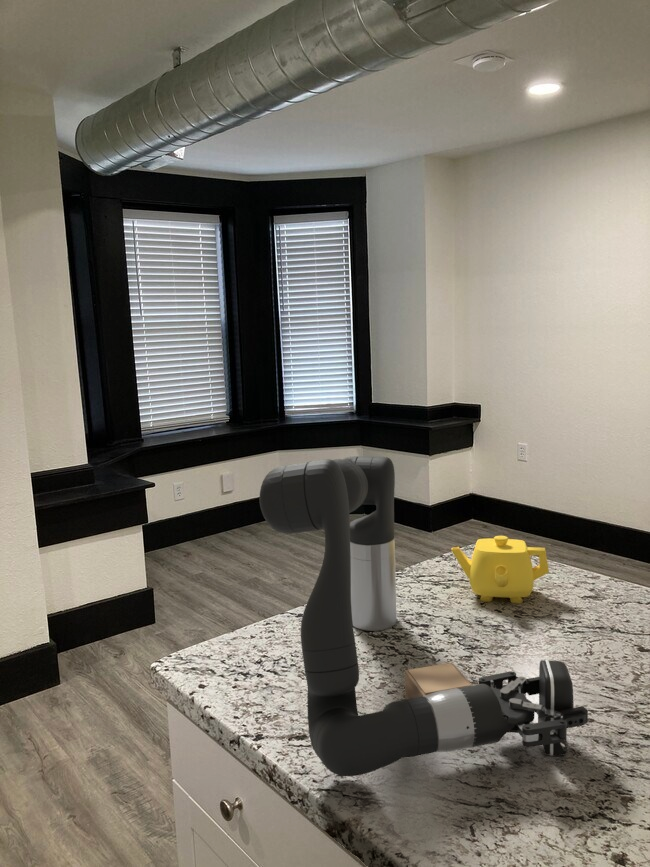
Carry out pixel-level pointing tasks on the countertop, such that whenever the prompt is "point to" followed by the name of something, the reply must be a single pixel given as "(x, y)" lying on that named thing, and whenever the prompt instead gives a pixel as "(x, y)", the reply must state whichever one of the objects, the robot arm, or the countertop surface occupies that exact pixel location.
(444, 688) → the wooden box
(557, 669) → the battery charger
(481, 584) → the teapot
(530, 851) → the countertop surface
